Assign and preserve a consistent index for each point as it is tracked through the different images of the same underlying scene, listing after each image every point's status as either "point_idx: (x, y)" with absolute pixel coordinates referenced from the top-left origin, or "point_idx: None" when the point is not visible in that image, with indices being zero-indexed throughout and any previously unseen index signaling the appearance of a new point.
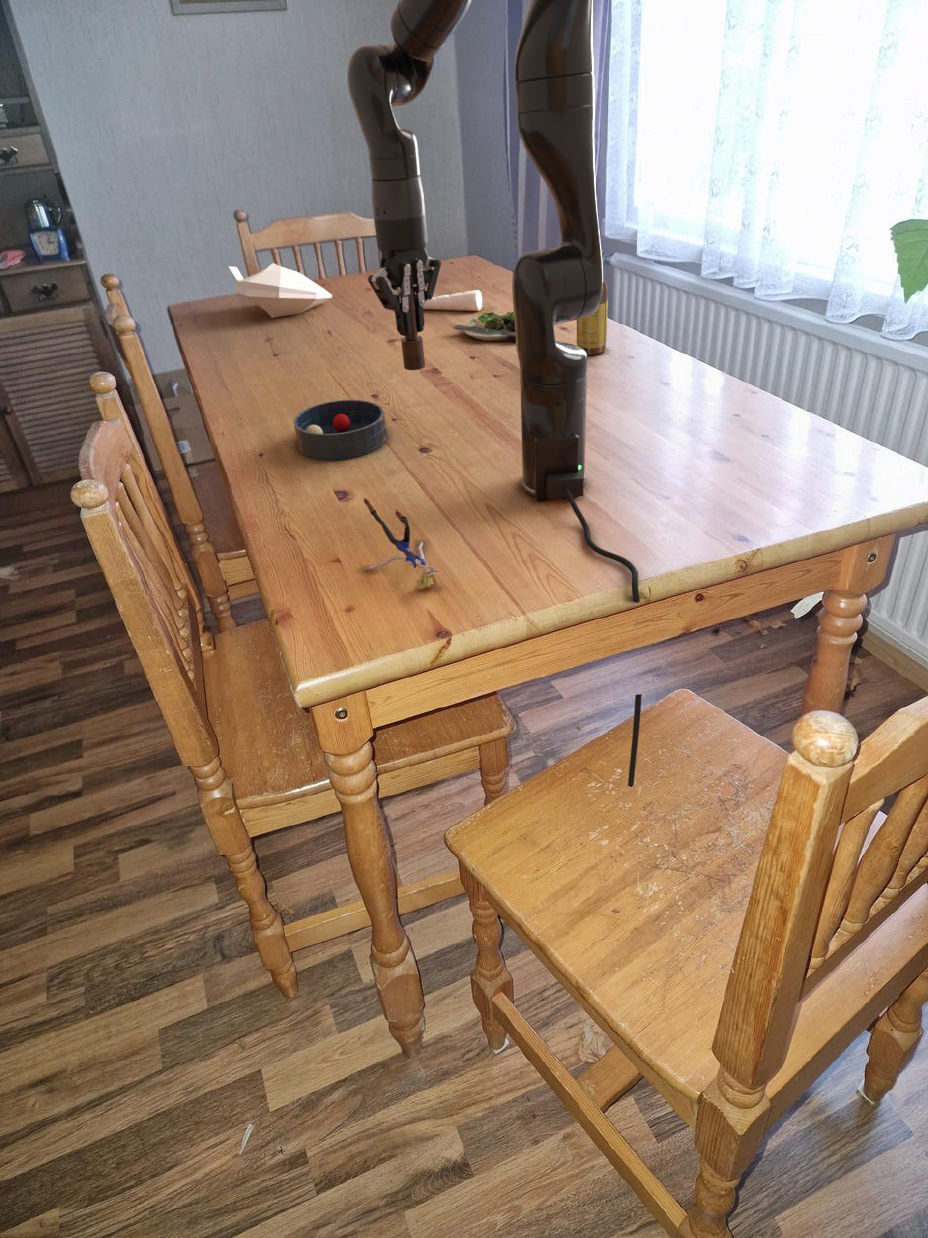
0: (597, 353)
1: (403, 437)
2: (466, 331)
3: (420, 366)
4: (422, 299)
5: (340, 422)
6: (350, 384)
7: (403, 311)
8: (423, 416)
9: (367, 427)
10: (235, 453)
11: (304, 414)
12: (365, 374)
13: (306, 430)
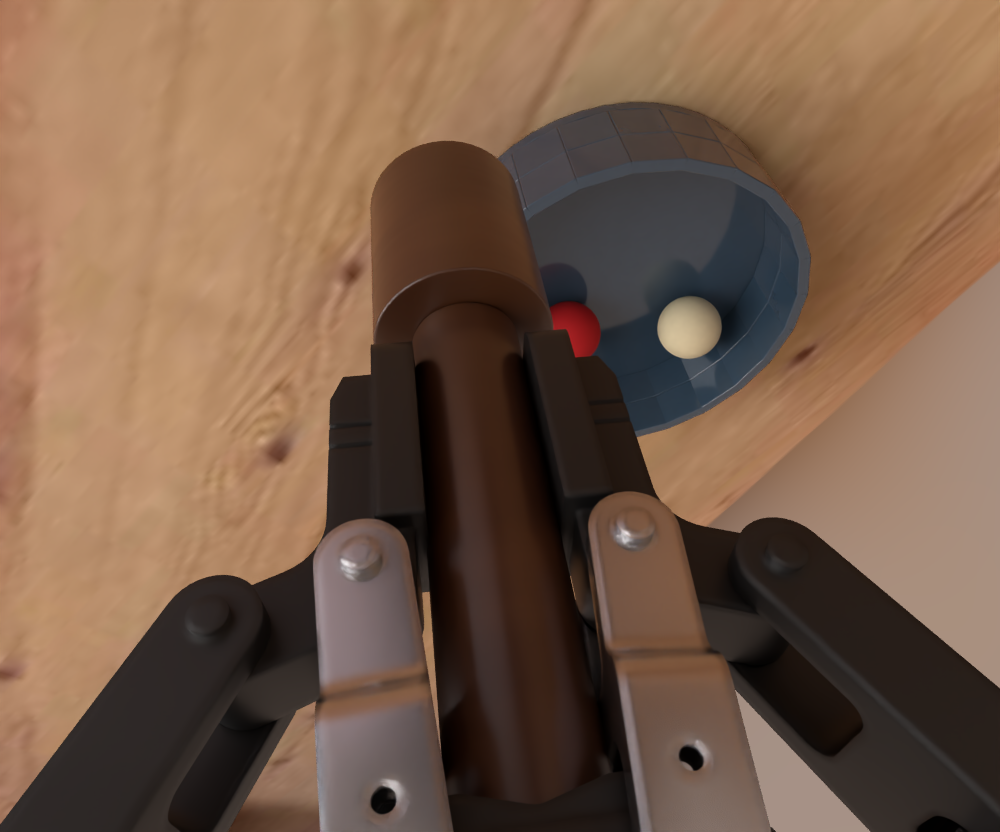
0: None
1: (442, 112)
2: None
3: (457, 147)
4: (355, 587)
5: (593, 324)
6: (283, 544)
7: (657, 503)
8: (238, 214)
9: (665, 158)
10: (816, 404)
11: (652, 419)
12: (202, 569)
13: (715, 344)
